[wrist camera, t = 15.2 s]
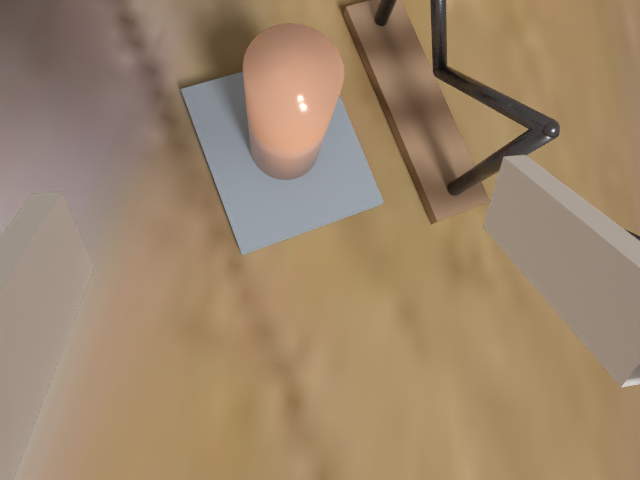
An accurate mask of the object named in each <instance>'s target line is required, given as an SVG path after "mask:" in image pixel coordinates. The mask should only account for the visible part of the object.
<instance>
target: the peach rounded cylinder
mask: <svg viewBox="0 0 640 480" xmlns="http://www.w3.org/2000/svg"><path fill="white" fill-rule="evenodd" d="M243 77H244V88H245V99H246V110H247V121H248V132H249V144H250V152H251V156H252V159H253V161H254V162H255V164H256V166H257V167H258V168H259V169H260V170H261V171H262V172H264V173H265V174H266V175H268V176H270V177H273V178H275V179H280V180H292V179H296V178H299V177H301V176H303V175H305V174H306V173H307V172H309V171H310V170H311V169H312V167H313V166H314V164H315V163H316V160H317V158H318V155H319V152H320V149H321V146H322V144H323V141H324V138H325V135H326V132H327V129H328V126H329V123H330V121H331V118H332V115H333V112H334V109H335V106H336V103H337V101H338V98H339V95H340V92H341V89H342V86H343V82H344V65H343V61H342V58H341V55H340V53H339V51H338V50H337V48H336V47H335V45H334V44H333V43H332V42H331V41H330V40H329V39H328V38H327V37H326V36H325V35H323V34H322V33H321V32H319V31H317V30H315V29H313V28H311V27H308V26H305V25H301V24H291V23H288V24H280V25H276V26H272V27H270V28H268V29H266V30H264V31H262V32H261V33H260V34H258V35H257V36H256V37H255V38H254V39H253V40H252V41H251V43H250V44H249V46H248V48H247V50H246V52H245V56H244V60H243Z"/></svg>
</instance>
